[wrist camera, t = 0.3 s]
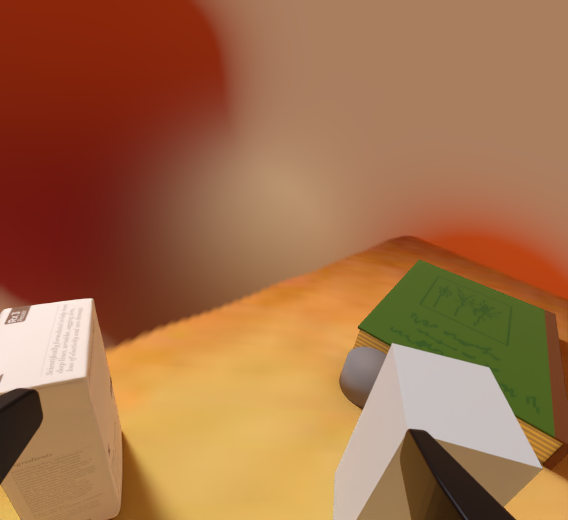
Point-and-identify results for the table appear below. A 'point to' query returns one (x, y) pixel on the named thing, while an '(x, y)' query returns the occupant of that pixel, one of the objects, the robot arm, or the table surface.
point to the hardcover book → (482, 345)
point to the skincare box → (63, 413)
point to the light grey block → (439, 424)
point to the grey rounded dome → (361, 373)
